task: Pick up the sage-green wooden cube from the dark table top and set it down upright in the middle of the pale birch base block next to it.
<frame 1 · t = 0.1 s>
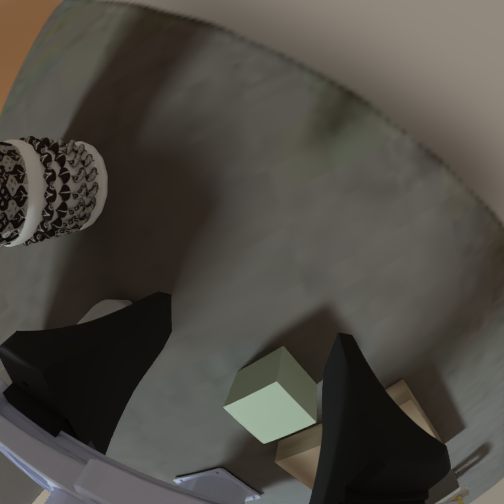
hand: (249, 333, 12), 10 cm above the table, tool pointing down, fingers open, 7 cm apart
black white patterned cylinder: (76, 185, 24), on the table
platform: (433, 482, 26), on the table
birch base: (369, 448, 25), on the table
cylinder vase: (72, 380, 31), on the table
green cube: (277, 378, 25), on the table
salt shaker: (130, 319, 26), on the table
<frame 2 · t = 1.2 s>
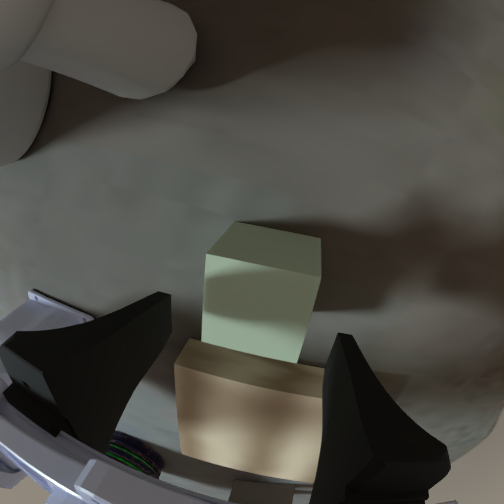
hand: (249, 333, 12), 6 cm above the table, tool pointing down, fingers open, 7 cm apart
platform: (266, 481, 30), on the table
birch base: (266, 414, 23), on the table
cylinder vase: (16, 95, 17), on the table
green cube: (270, 268, 18), on the table
salt shaker: (166, 57, 15), on the table
storage jar: (134, 449, 33), on the table
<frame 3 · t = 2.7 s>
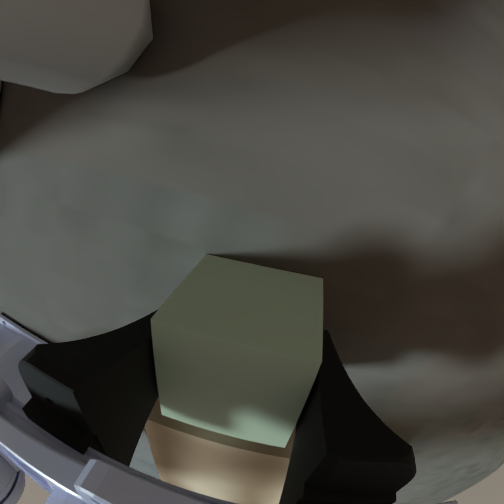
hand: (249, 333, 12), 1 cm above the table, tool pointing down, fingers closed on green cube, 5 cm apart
birch base: (255, 460, 19), on the table
green cube: (255, 315, 14), on the table, touching gripper
salt shaker: (119, 38, 10), on the table
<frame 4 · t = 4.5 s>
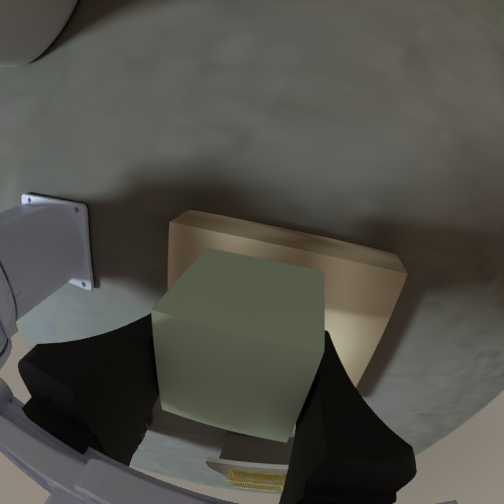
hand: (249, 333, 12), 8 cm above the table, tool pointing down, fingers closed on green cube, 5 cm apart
platform: (264, 437, 29), on the table
birch base: (273, 319, 22), on the table
cylinder vase: (43, 9, 15), on the table
green cube: (256, 309, 13), point 7 cm above the table, touching gripper
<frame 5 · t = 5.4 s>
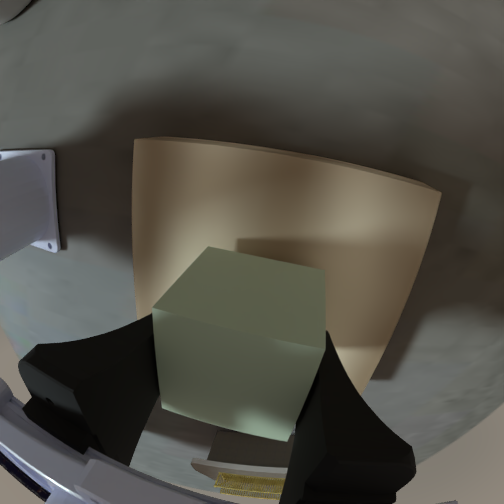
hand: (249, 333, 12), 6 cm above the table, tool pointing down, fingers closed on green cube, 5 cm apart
platform: (261, 434, 25), on the table
birch base: (269, 275, 17), on the table
green cube: (257, 307, 13), point 4 cm above the table, touching gripper
storage jar: (98, 390, 27), on the table
when the fingers open (5 cm above the table, at t = 6.3 s): green cube stays where it is, resting on birch base.
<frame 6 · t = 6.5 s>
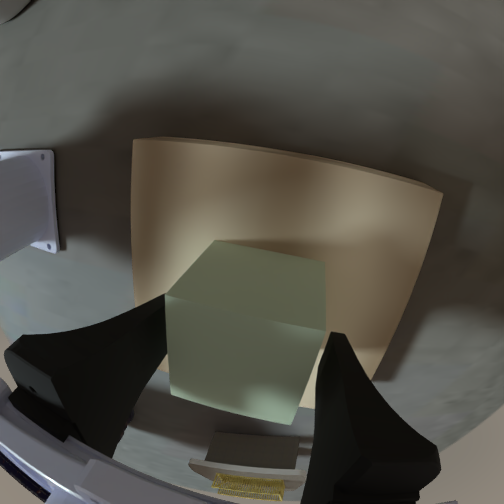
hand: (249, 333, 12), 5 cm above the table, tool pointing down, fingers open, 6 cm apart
platform: (259, 435, 24), on the table
birch base: (269, 276, 17), on the table
green cube: (261, 298, 14), point 3 cm above the table, touching birch base
storage jar: (97, 391, 27), on the table
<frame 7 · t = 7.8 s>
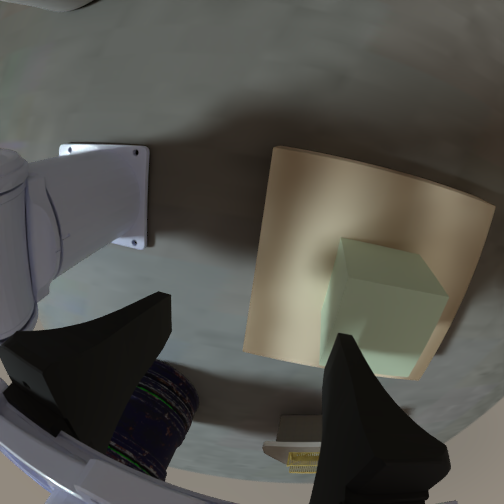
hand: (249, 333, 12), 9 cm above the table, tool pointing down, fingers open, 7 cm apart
platform: (320, 415, 27), on the table
birch base: (362, 267, 20), on the table
green cube: (370, 284, 17), point 3 cm above the table, touching birch base
storage jar: (159, 387, 30), on the table
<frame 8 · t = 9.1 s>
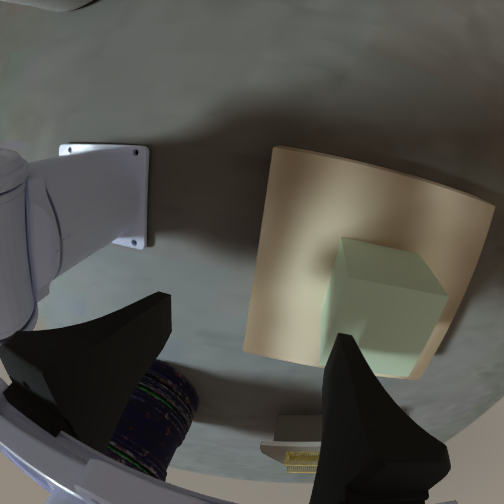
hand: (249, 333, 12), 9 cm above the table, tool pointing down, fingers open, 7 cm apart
platform: (317, 415, 27), on the table
birch base: (362, 267, 20), on the table
green cube: (370, 283, 17), point 3 cm above the table, touching birch base
storage jar: (159, 387, 30), on the table
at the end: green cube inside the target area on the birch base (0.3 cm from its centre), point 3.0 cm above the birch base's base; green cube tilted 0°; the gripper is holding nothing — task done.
